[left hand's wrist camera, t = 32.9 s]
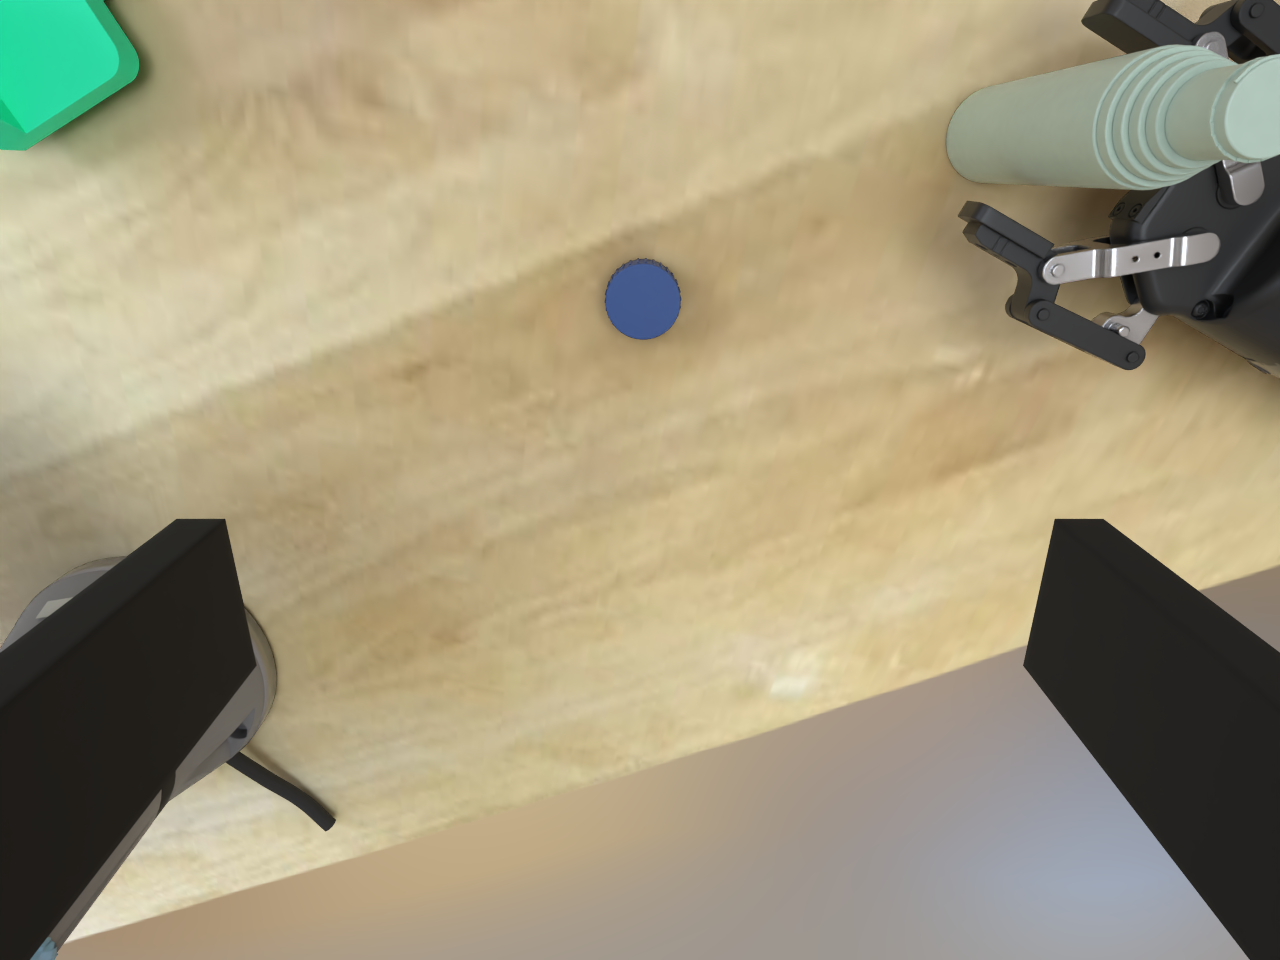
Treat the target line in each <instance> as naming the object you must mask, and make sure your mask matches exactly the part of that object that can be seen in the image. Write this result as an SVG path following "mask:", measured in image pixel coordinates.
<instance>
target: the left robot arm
mask: <svg viewBox="0 0 1280 960" xmlns="http://www.w3.org/2000/svg"><path fill="white" fill-rule="evenodd" d="M1023 666H1024V667H1025V668H1026V670H1027V671H1028V672H1029V674H1030V675H1031V676H1032V678H1033V679H1034V680H1035V681H1036V683H1037V684H1038V685H1039V687H1040V688H1041V689H1042V691H1043V692H1044V693H1045V694H1046V696H1047V697H1048V698H1049V700H1050V701H1051V702H1052V704H1053V705H1054V706H1055V707H1056V709H1057V710H1058V711H1059V713H1060V714H1061V715H1062V717H1063V718H1064V719H1065V720H1066V722H1067V723H1068V724H1069V726H1070V727H1071V728H1072V729H1073V731H1074V732H1075V733H1076V735H1077V736H1078V737H1079V739H1080V740H1081V741H1082V743H1083V744H1084V745H1085V746H1086V748H1087V749H1088V750H1089V752H1090V753H1091V754H1092V755H1093V757H1094V758H1095V759H1096V761H1097V762H1098V763H1099V765H1100V766H1101V767H1102V768H1103V770H1104V771H1105V772H1106V774H1107V775H1108V776H1109V777H1110V779H1111V780H1112V781H1113V783H1114V784H1115V785H1116V787H1117V788H1118V789H1119V791H1120V792H1121V793H1122V794H1123V796H1124V797H1125V798H1126V800H1127V801H1128V802H1129V804H1130V805H1131V806H1132V807H1133V809H1134V810H1135V811H1136V813H1137V814H1138V815H1139V817H1140V818H1141V819H1142V820H1143V822H1144V823H1145V824H1146V826H1147V827H1148V828H1149V829H1150V831H1151V832H1152V833H1153V835H1154V836H1155V837H1156V839H1157V840H1158V841H1159V842H1160V844H1161V845H1162V846H1163V848H1164V849H1165V850H1166V852H1167V853H1168V854H1169V855H1170V857H1171V858H1172V859H1173V861H1174V862H1175V863H1176V865H1177V866H1178V867H1179V868H1180V870H1181V871H1182V872H1183V874H1184V875H1185V876H1186V878H1187V879H1188V880H1189V881H1190V883H1191V884H1192V885H1193V887H1194V888H1195V889H1196V891H1197V892H1198V893H1199V894H1200V896H1201V897H1202V898H1203V900H1204V901H1205V902H1206V903H1207V905H1208V906H1209V907H1210V909H1211V910H1212V911H1213V912H1214V914H1215V915H1216V916H1217V918H1218V919H1219V920H1220V922H1221V923H1222V924H1223V926H1224V927H1225V928H1226V929H1227V931H1228V932H1229V933H1230V935H1231V936H1232V937H1233V939H1234V940H1235V941H1236V942H1237V944H1238V945H1239V946H1240V948H1241V949H1242V950H1243V951H1244V953H1245V954H1246V955H1247V957H1248V958H1249V959H1250V960H1280V653H1279V652H1278V651H1277V650H1276V649H1274V648H1273V647H1272V646H1270V645H1269V644H1268V643H1266V642H1265V641H1264V640H1262V639H1261V638H1260V637H1258V636H1257V635H1256V634H1254V633H1253V632H1252V631H1250V630H1249V629H1248V628H1246V627H1245V626H1244V625H1243V624H1241V623H1240V622H1239V621H1237V620H1236V619H1235V618H1233V617H1232V616H1231V615H1229V614H1228V613H1227V612H1225V611H1224V610H1223V609H1221V608H1220V607H1219V606H1217V605H1216V604H1215V603H1214V602H1212V601H1211V600H1210V599H1208V598H1207V597H1206V596H1204V595H1203V594H1202V593H1200V592H1199V591H1198V590H1196V589H1195V588H1194V587H1192V586H1191V585H1190V584H1188V583H1187V582H1186V581H1184V580H1183V579H1182V578H1181V577H1179V576H1178V575H1177V574H1175V573H1174V572H1173V571H1171V570H1170V569H1169V568H1167V567H1166V566H1165V565H1163V564H1162V563H1161V562H1159V561H1158V560H1157V559H1155V558H1154V557H1153V556H1151V555H1150V554H1149V553H1148V552H1146V551H1145V550H1144V549H1142V548H1141V547H1140V546H1138V545H1137V544H1136V543H1134V542H1133V541H1132V540H1130V539H1129V538H1128V537H1126V536H1125V535H1124V534H1122V533H1121V532H1120V531H1118V530H1117V529H1116V528H1115V527H1113V526H1112V525H1111V524H1109V523H1108V522H1107V521H1105V520H1104V519H1055V521H1054V525H1053V530H1052V535H1051V539H1050V544H1049V549H1048V553H1047V558H1046V563H1045V567H1044V572H1043V576H1042V581H1041V586H1040V590H1039V595H1038V600H1037V604H1036V609H1035V613H1034V618H1033V623H1032V627H1031V632H1030V637H1029V641H1028V646H1027V651H1026V655H1025V660H1024V664H1023ZM275 691H276V667H275V662H274V658H273V654H272V651H271V649H270V646H269V644H268V641H267V639H266V637H265V635H264V634H263V632H262V630H261V628H260V627H259V625H258V624H257V623H256V621H255V620H254V618H253V617H252V616H251V615H250V614H249V612H248V611H247V610H246V609H245V608H244V604H243V600H242V595H241V590H240V586H239V581H238V576H237V572H236V567H235V563H234V558H233V553H232V549H231V544H230V539H229V535H228V530H227V525H226V521H225V519H176V520H175V521H173V522H172V523H171V524H169V525H168V526H167V527H165V528H164V529H163V530H162V531H160V532H159V533H158V534H156V535H155V536H154V537H152V538H151V539H150V540H148V541H147V542H146V543H144V544H143V545H142V546H140V547H139V548H138V549H136V550H135V551H134V552H132V553H131V554H130V555H129V556H127V557H115V558H106V559H101V560H96V561H93V562H90V563H87V564H84V565H82V566H79V567H77V568H75V569H73V570H71V571H70V572H68V573H66V574H65V575H63V576H62V577H61V578H59V579H58V580H56V581H55V582H53V583H52V584H51V585H49V586H48V587H46V588H45V589H44V590H42V591H41V592H40V593H39V594H38V595H37V596H36V597H35V598H34V599H33V600H32V601H31V602H30V604H29V605H28V606H27V607H26V608H25V610H24V611H23V613H22V614H21V616H20V617H19V619H18V621H17V622H16V624H15V626H14V628H13V629H12V631H11V632H10V634H9V635H8V637H7V638H6V640H5V642H4V643H3V645H2V646H1V648H0V960H55V958H56V956H57V955H58V954H57V952H58V950H59V949H60V948H61V946H62V945H63V944H64V942H65V941H66V940H67V938H68V937H69V935H70V934H71V933H72V931H73V930H74V929H75V927H76V926H77V925H78V923H79V922H80V921H81V919H82V918H83V916H84V915H85V914H86V912H87V911H88V910H89V908H90V907H91V906H92V904H93V903H94V902H95V900H96V899H97V897H98V896H99V895H100V893H101V892H102V891H103V889H104V888H105V887H106V885H107V884H108V883H109V881H110V880H111V878H112V877H113V876H114V874H115V873H116V872H117V870H118V869H119V868H120V866H121V865H122V864H123V862H124V861H125V860H126V858H127V857H128V855H129V854H130V853H131V851H132V850H133V849H134V847H135V846H136V845H137V843H138V842H139V841H140V839H141V838H142V836H143V835H144V834H145V832H146V831H147V830H148V828H149V827H150V826H151V824H152V822H153V821H154V820H155V818H156V817H157V816H158V814H159V813H160V812H161V810H162V809H163V808H164V806H165V805H166V804H167V803H168V801H170V800H171V799H173V798H174V797H176V796H177V795H179V794H180V793H181V792H183V791H184V790H186V789H187V788H189V787H190V786H192V785H193V784H195V783H196V782H197V781H199V780H200V779H202V778H203V777H205V776H206V775H208V774H209V773H210V772H212V771H213V770H215V769H216V768H218V767H219V766H221V765H222V764H224V763H225V762H226V763H227V764H229V765H230V766H232V767H234V768H235V769H237V770H238V771H240V772H241V773H243V774H245V775H246V776H248V777H249V778H251V779H252V780H254V781H256V782H257V783H259V784H260V785H262V786H264V787H265V788H267V789H269V790H271V791H272V792H274V793H276V794H278V795H280V796H281V797H283V798H285V799H287V800H288V801H290V802H291V803H293V804H294V805H296V806H297V807H299V808H300V809H301V810H302V811H304V812H305V813H306V814H307V815H308V816H309V817H310V818H312V819H313V820H314V821H315V822H316V823H317V824H318V825H319V826H320V827H321V828H322V829H323V830H324V831H327V830H329V829H330V828H331V827H332V826H333V825H334V823H335V821H336V819H334V818H333V817H332V816H331V815H330V814H329V813H328V812H327V811H326V810H325V809H324V808H323V807H322V806H321V805H320V804H318V803H317V802H316V801H315V800H314V799H313V798H311V797H310V796H309V795H307V794H306V793H305V792H303V791H302V790H300V789H299V788H297V787H296V786H294V785H292V784H291V783H289V782H287V781H285V780H284V779H282V778H280V777H278V776H277V775H275V774H273V773H272V772H270V771H269V770H267V769H265V768H264V767H262V766H261V765H259V764H258V763H256V762H255V761H253V760H252V759H250V758H248V757H247V756H245V755H244V754H242V753H241V752H239V751H240V750H241V749H242V748H243V747H244V746H245V745H246V744H247V743H248V742H249V741H250V740H251V738H252V737H253V736H254V734H255V733H256V731H257V730H258V729H259V727H260V726H261V724H262V723H263V721H264V720H265V718H266V716H267V715H268V713H269V711H270V709H271V706H272V704H273V700H274V697H275Z"/></svg>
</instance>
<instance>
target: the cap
mask: <svg viewBox="0 0 1280 960" xmlns="http://www.w3.org/2000/svg"><path fill="white" fill-rule="evenodd" d="M677 285H678V283H677V280H676V279H675V278H674V276H673V273H671V272H670V271H669V270H668V268H667V267H664V266H663V265H662V264H661V263H658V262H655V261H654V260H647V258H645V259H639V258H638V259H637V260H634V261H631V260H630V262H628V263H626V264H623V265H622V267H620V268H619V269H617V270H616V272H615V274H614V275H613V274H612V277H611V280H610V281H609V282H608V286H607V287H608V289H607V290H606V293H605V295H606V299H605V303H606V311H607V313H608V316H609V318H610V320H611V322H612V324H613V325H614V326H615V327H616V328H617V329H618V330H619V331H620V332H621V333H623V334H625V335H626V336H629V337H631V338H635V339H651V338H655V337H657V336H660V335H661V334H663V333H665V332H666V331H667V330H668V329H669V328H670V327H671V326H672V325H673V324H674V322H675V320H676V319H677V316H678V314H679V310H680V308H681V307H680V301H681V297H680V289H679V287H678V286H677Z"/></svg>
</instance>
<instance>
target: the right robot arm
mask: <svg viewBox="0 0 1280 960" xmlns="http://www.w3.org/2000/svg"><path fill="white" fill-rule="evenodd" d="M1081 22H1082V24H1083V25H1084V26H1085V27H1087V28H1088V29H1090V30H1091V31H1093V32H1094V33H1096V34H1097V35H1099V36H1101V37H1102V38H1104V39H1105V40H1107V41H1108V42H1110V43H1111V44H1113V45H1114V46H1116V47H1117V48H1119V49H1120V50H1122V51H1123V52H1125V53H1127V54H1130V53H1135V52H1139V51H1143V50H1147V49H1152V48H1156V47H1160V46H1166V45H1192V46H1199V47H1203V48H1206V49H1208V50H1210V51H1213V52H1214V53H1216V54H1218V55H1220V56H1222V57H1224V58H1226V59H1229V58H1231V59H1232V60H1233V61H1234V62H1236V63H1237V64H1243V63H1245V62H1248V61H1250V60H1253V59H1255V58H1258V57H1266V56H1269V55H1277V54H1280V6H1279V5H1278V4H1277V3H1276V2H1275V1H1273V0H1231V1H1227V2H1224V3H1220V4H1217V5H1213V6H1210V7H1209V8H1207V9H1206V10H1205V11H1204V12H1203V13H1202V15H1201V16H1200V18H1199V20H1198V21H1197V22H1196V23H1195V24H1194V23H1193V22H1191V21H1190V20H1188V19H1187V18H1185V17H1184V16H1182V15H1181V14H1179V13H1178V12H1176V11H1175V10H1173V9H1172V8H1170V7H1169V6H1167V5H1165V4H1164V3H1163V2H1161V1H1160V0H1097V1H1095V2H1093V3H1092V4H1091V6H1090V8H1089V9H1088V11H1087V12H1086V14H1085V16H1084V17H1083V19H1082V21H1081ZM1228 57H1229V58H1228ZM958 217H960V218H961V219H963V220H964V221H966V222H968V224H967V226H966V227H965V229H964V231H963V232H962V233H963V234H964V235H965V237H966V238H967V240H968V241H969V242H970V243H972V244H974V245H975V246H977V247H979V248H981V249H982V250H984V251H986V252H988V253H989V254H991V255H993V256H994V257H996V258H998V259H1000V260H1001V261H1003V262H1005V263H1006V264H1008V265H1010V266H1012V267H1013V268H1014V269H1015V271H1016V272H1017V276H1018V282H1017V286H1016V290H1015V293H1014V294H1013V295H1012V296H1010V297H1009V299H1008V300H1007V302H1006V305H1005V310H1006V313H1007V314H1008V315H1009V316H1010V317H1012V318H1014V319H1016V320H1018V321H1020V322H1022V323H1024V324H1026V325H1029V326H1031V327H1033V328H1035V329H1037V330H1039V331H1041V332H1043V333H1045V334H1047V335H1050V336H1052V337H1054V338H1056V339H1058V340H1060V341H1062V342H1064V343H1066V344H1069V345H1071V346H1073V347H1075V348H1077V349H1079V350H1081V351H1083V352H1085V353H1087V354H1090V355H1092V356H1094V357H1096V358H1098V359H1101V360H1103V361H1105V362H1108V363H1110V364H1113V365H1115V366H1118V367H1120V368H1122V369H1125V370H1133V369H1135V368H1137V367H1139V366H1140V365H1141V364H1142V362H1143V361H1144V359H1145V350H1144V348H1143V347H1142V346H1141V345H1140V343H1141V342H1142V340H1143V339H1144V337H1145V336H1146V334H1147V333H1148V331H1149V330H1150V328H1151V327H1152V326H1153V324H1154V323H1155V321H1156V320H1157V318H1158V317H1159V316H1165V315H1172V316H1174V317H1175V318H1177V319H1179V320H1180V321H1182V322H1184V323H1186V324H1187V325H1189V326H1191V327H1192V328H1194V329H1196V330H1197V331H1199V332H1201V333H1203V334H1204V335H1206V336H1208V337H1209V338H1211V339H1213V340H1214V341H1216V342H1218V343H1219V344H1221V345H1223V346H1225V347H1226V348H1228V349H1230V350H1231V351H1233V352H1235V353H1236V354H1238V355H1240V356H1242V357H1243V358H1245V359H1247V361H1248V362H1249V363H1250V364H1251V365H1253V366H1254V367H1255V368H1257V369H1258V370H1260V371H1262V372H1264V373H1266V374H1267V373H1268V374H1272V375H1274V376H1275V377H1277V378H1279V379H1280V154H1279V155H1277V156H1274V157H1272V158H1269V159H1267V160H1264V161H1261V162H1253V163H1242V162H1236V161H1232V160H1221V161H1219V162H1217V163H1215V164H1213V165H1211V166H1210V167H1208V168H1206V169H1204V170H1202V171H1201V172H1199V173H1197V174H1195V175H1194V176H1192V177H1190V178H1189V179H1187V180H1184V181H1182V182H1180V183H1177V184H1174V185H1171V186H1166V187H1162V188H1158V189H1152V190H1130V191H1129V192H1128V193H1127V194H1126V195H1125V196H1124V197H1123V198H1122V199H1121V200H1120V201H1119V202H1118V203H1117V205H1116V206H1115V208H1114V209H1113V211H1112V212H1111V214H1110V215H1109V216H1108V217H1109V218H1110V219H1112V222H1111V226H1110V232H1109V235H1105V236H1100V237H1094V238H1088V239H1083V240H1077V241H1072V242H1070V243H1069V244H1066V245H1061V246H1055V247H1053V246H1054V244H1053V243H1051V242H1050V241H1048V240H1046V239H1044V238H1043V237H1041V236H1039V235H1038V234H1036V233H1034V232H1033V231H1031V230H1029V229H1027V228H1026V227H1024V226H1022V225H1021V224H1019V223H1017V222H1016V221H1014V220H1012V219H1011V218H1009V217H1007V216H1005V215H1004V214H1002V213H1000V212H999V211H997V210H995V209H994V208H992V207H990V206H988V205H986V204H984V203H981V202H973V201H967V202H966V203H965V205H964V207H963V208H962V210H961V211H960V213H959V215H958ZM1117 276H1120V279H1121V282H1122V286H1123V289H1124V293H1125V297H1126V299H1127V301H1128V303H1129V304H1130V306H1129V308H1128V309H1127V310H1125V311H1124V312H1121V313H1117V314H1115V313H1110V312H1104V313H1101V314H1099V315H1098V316H1096V317H1095V318H1093V319H1092V321H1090V320H1087V319H1085V318H1083V317H1081V316H1079V315H1077V314H1075V313H1073V312H1071V311H1069V310H1067V309H1065V308H1063V307H1061V306H1059V305H1056V304H1054V302H1055V299H1056V296H1057V292H1058V289H1059V286H1060V284H1062V283H1068V282H1073V281H1079V280H1085V279H1090V278H1109V277H1117Z"/></svg>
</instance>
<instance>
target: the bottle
mask: <svg viewBox="0 0 1280 960" xmlns="http://www.w3.org/2000/svg"><path fill="white" fill-rule="evenodd" d="M946 147H947V153H948V157H949V160H950V162H951V164H952V165H953V167H954V169H955V170H956V171H957V172H958V173H959V174H960V175H962V176H963V177H964V178H966V179H968V180H970V181H973V182H978V183H993V184H1015V185H1037V186H1059V187H1082V188H1104V189H1126V190H1152V189H1158V188H1162V187H1166V186H1171V185H1174V184H1177V183H1180V182H1182V181H1184V180H1187V179H1189V178H1190V177H1192V176H1194V175H1195V174H1197V173H1199V172H1201V171H1202V170H1204V169H1206V168H1208V167H1210V166H1211V165H1213V164H1215V163H1217V162H1219V161H1221V160H1232V161H1236V162H1242V163H1253V162H1261V161H1264V160H1267V159H1269V158H1272V157H1274V156H1277V155H1279V154H1280V54H1277V55H1269V56H1266V57H1258V58H1255V59H1253V60H1250V61H1248V62H1245V63H1243V64H1237V63H1235V62H1233V61H1230V60H1229V59H1226V58H1224V57H1222V56H1220V55H1218V54H1216V53H1214V52H1213V51H1210V50H1208V49H1206V48H1203V47H1199V46H1192V45H1166V46H1160V47H1156V48H1152V49H1147V50H1143V51H1139V52H1135V53H1130V54H1126V55H1122V56H1117V57H1113V58H1109V59H1105V60H1100V61H1096V62H1092V63H1087V64H1083V65H1079V66H1075V67H1070V68H1066V69H1062V70H1057V71H1053V72H1049V73H1045V74H1040V75H1036V76H1032V77H1027V78H1023V79H1019V80H1015V81H1010V82H1006V83H1002V84H997V85H993V86H989V87H986V88H983V89H980V90H978V91H976V92H975V93H973V94H972V95H970V96H969V97H968V98H966V99H965V100H964V101H963V102H962V103H961V105H960V106H959V107H958V108H957V110H956V111H955V113H954V115H953V117H952V119H951V121H950V124H949V127H948V131H947V138H946Z"/></svg>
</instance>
